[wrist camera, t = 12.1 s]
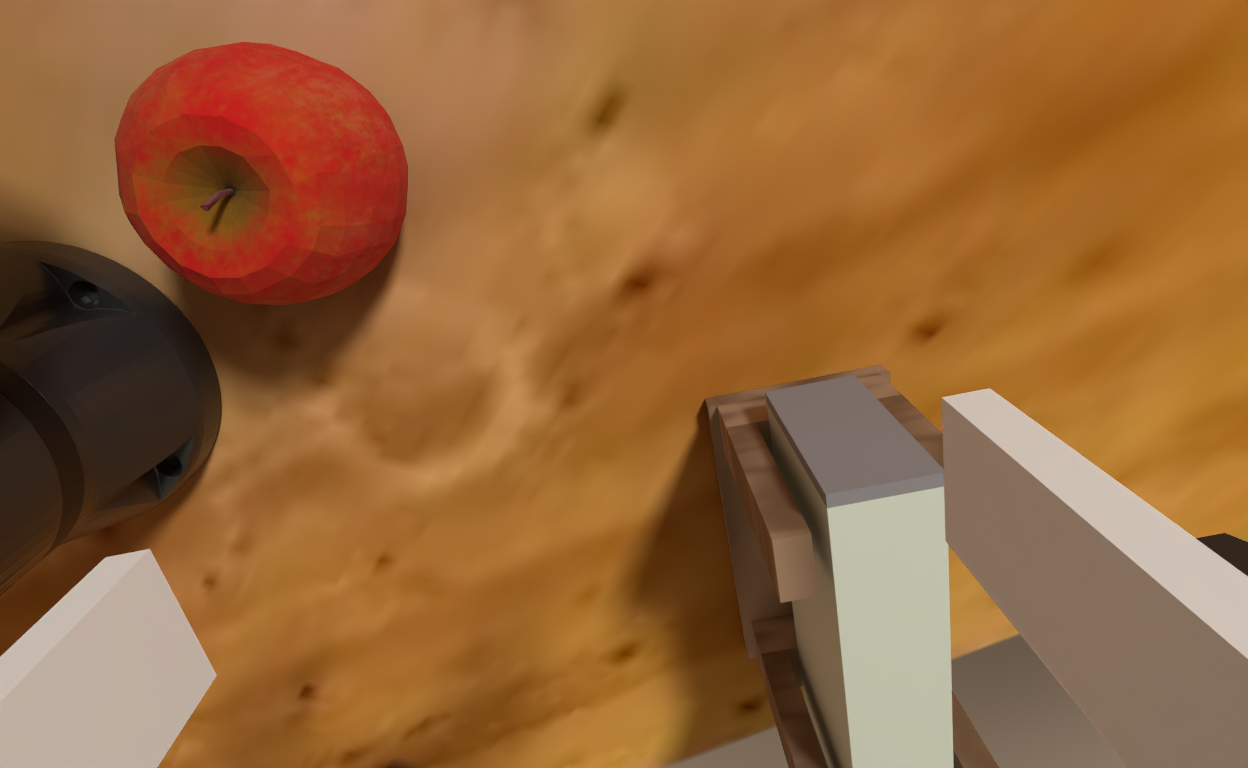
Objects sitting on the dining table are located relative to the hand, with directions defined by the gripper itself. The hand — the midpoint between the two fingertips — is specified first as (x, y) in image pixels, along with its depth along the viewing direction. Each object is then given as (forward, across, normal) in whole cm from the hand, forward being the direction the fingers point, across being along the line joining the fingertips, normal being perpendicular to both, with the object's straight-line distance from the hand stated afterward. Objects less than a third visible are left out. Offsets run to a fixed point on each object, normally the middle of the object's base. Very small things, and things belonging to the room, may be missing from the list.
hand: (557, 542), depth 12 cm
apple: (+27, -12, +6) cm, 30 cm away
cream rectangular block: (+23, +10, -19) cm, 31 cm away
